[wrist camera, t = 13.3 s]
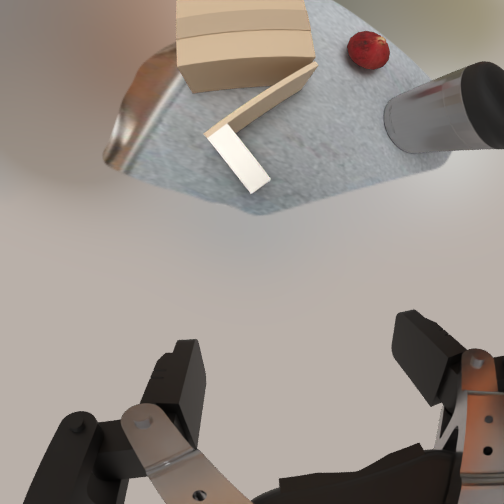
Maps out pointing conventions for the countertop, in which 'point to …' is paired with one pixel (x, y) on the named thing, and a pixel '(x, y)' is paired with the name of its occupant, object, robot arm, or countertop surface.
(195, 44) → the kraft carton
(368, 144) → the countertop surface
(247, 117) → the carton flap
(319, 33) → the countertop surface
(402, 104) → the robot arm
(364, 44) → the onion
